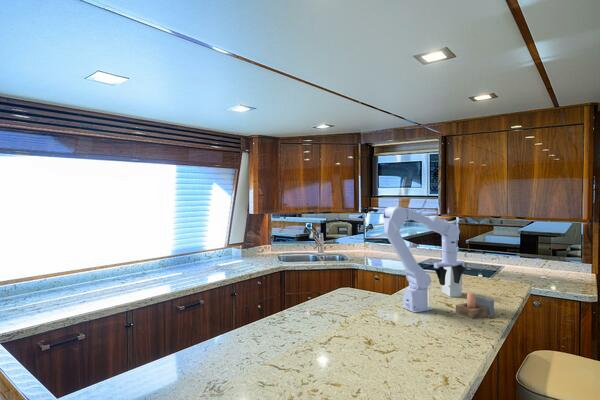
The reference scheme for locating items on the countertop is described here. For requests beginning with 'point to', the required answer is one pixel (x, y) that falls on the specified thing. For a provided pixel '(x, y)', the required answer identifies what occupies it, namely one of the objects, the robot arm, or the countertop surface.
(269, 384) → the countertop surface
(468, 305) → the dowel
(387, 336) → the countertop surface
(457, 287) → the skincare box
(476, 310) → the block
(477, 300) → the backstop wall
